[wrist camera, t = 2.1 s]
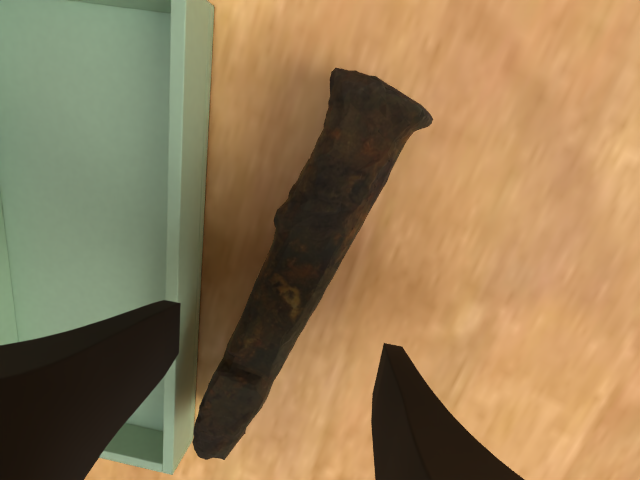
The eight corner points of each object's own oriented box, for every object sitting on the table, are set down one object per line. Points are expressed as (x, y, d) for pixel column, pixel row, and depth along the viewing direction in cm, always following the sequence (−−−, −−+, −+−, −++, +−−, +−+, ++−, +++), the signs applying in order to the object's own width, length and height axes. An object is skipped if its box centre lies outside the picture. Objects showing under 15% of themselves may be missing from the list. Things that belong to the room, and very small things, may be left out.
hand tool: (345, 69, 15) (334, 42, 11) (427, 116, 15) (450, 108, 11) (187, 385, 21) (138, 452, 17) (247, 418, 21) (214, 493, 17)
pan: (25, 400, 23) (-15, 431, 21) (-26, -24, 16) (-94, -51, 14) (193, 438, 22) (172, 475, 20) (214, 6, 15) (186, -18, 13)
